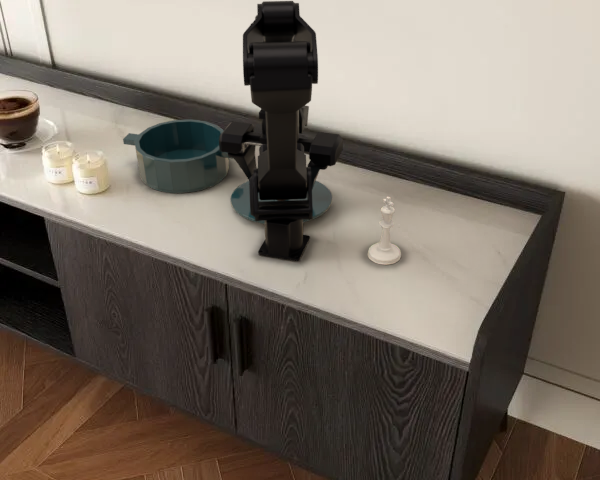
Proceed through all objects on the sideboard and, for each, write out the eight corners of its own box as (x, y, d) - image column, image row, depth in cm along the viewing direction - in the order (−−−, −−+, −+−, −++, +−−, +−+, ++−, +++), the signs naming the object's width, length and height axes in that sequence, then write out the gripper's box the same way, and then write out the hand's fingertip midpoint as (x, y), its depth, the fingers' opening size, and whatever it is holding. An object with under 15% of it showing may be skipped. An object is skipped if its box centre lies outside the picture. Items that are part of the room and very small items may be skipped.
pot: (224, 201, 126) (222, 169, 123) (110, 184, 131) (104, 152, 127) (254, 157, 138) (253, 126, 134) (148, 143, 143) (144, 113, 139)
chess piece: (383, 268, 111) (388, 210, 105) (360, 254, 114) (363, 196, 108) (407, 256, 114) (413, 198, 107) (384, 241, 117) (388, 184, 110)
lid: (312, 235, 116) (312, 206, 113) (214, 218, 121) (211, 189, 118) (344, 188, 129) (345, 160, 126) (254, 174, 134) (253, 147, 131)
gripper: (352, 85, 118) (349, 174, 128) (239, 73, 122) (244, 160, 132) (335, 115, 110) (333, 208, 120) (214, 101, 114) (221, 192, 124)
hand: (282, 190), depth 124 cm, fingers open, 9 cm apart
